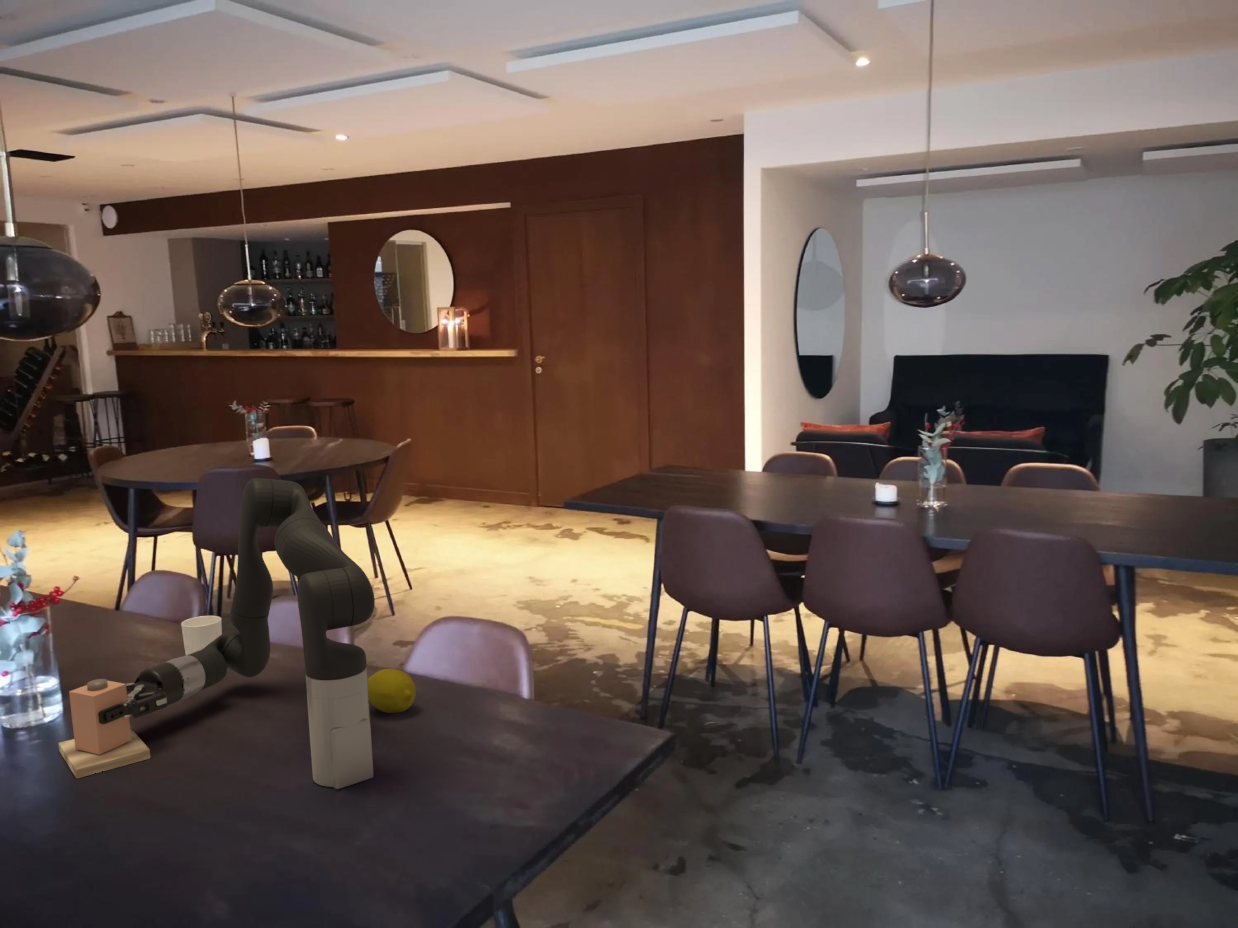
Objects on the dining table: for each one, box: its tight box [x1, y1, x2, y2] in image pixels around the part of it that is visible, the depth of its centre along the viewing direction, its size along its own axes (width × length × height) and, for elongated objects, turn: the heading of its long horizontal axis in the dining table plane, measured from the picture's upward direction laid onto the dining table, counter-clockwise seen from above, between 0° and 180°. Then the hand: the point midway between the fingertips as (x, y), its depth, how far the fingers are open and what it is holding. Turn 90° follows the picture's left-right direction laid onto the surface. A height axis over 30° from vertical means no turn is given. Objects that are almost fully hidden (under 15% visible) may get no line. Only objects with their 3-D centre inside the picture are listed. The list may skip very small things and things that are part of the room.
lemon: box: [367, 668, 417, 714], centre depth 180 cm, size 11×8×8 cm
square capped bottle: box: [68, 678, 131, 755], centre depth 163 cm, size 6×6×11 cm
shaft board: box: [58, 727, 151, 779], centre depth 164 cm, size 14×11×8 cm
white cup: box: [180, 615, 223, 656], centre depth 207 cm, size 8×8×10 cm
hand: (86, 715), depth 161 cm, fingers open, 6 cm apart
